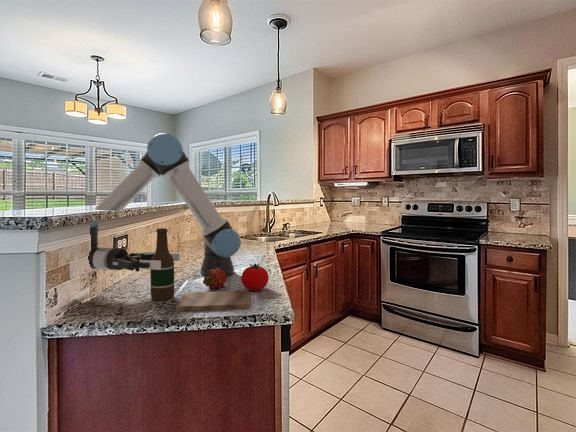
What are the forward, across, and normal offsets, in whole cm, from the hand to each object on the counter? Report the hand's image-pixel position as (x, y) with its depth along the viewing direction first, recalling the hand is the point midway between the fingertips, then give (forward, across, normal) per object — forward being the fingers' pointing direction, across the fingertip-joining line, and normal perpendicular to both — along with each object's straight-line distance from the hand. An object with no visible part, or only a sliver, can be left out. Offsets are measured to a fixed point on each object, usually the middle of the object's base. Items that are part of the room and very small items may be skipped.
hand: (170, 260), depth 104 cm
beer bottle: (-3, 0, -13) cm, 14 cm away
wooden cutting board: (+16, +2, -13) cm, 21 cm away
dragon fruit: (+11, -14, -13) cm, 22 cm away
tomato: (+27, -13, -13) cm, 33 cm away
